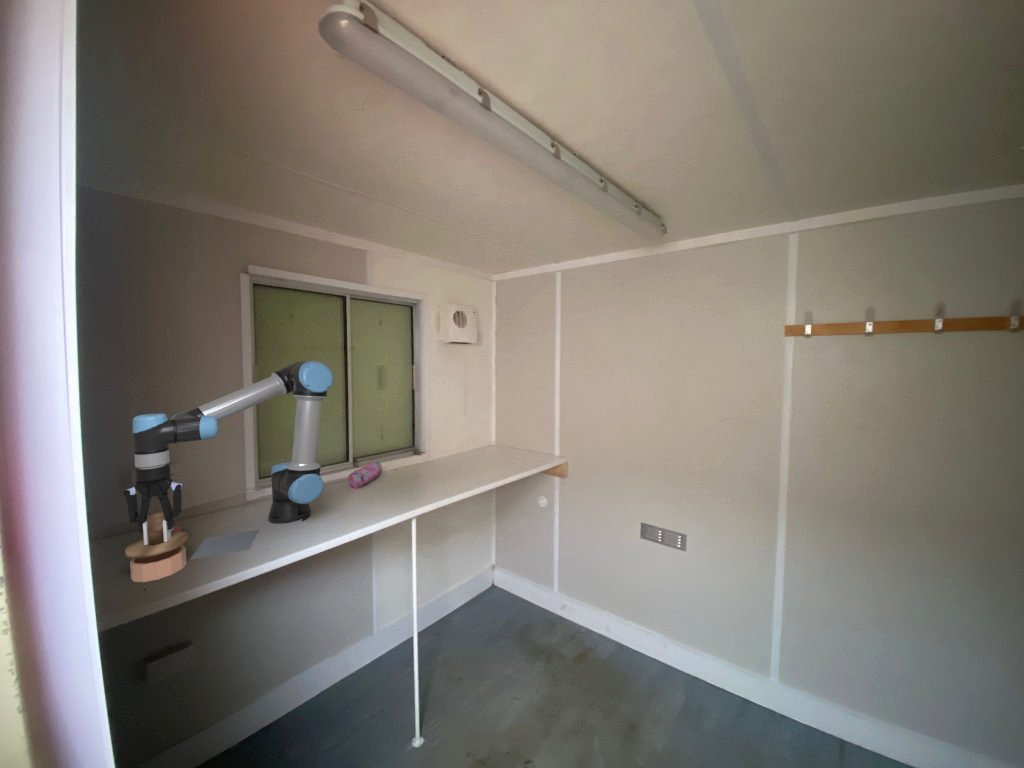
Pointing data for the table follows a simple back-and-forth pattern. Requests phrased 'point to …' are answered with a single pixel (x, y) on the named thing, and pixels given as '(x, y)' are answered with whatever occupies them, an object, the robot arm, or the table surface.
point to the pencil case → (364, 475)
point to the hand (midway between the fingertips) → (157, 541)
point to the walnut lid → (156, 539)
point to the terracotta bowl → (158, 565)
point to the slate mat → (225, 544)
